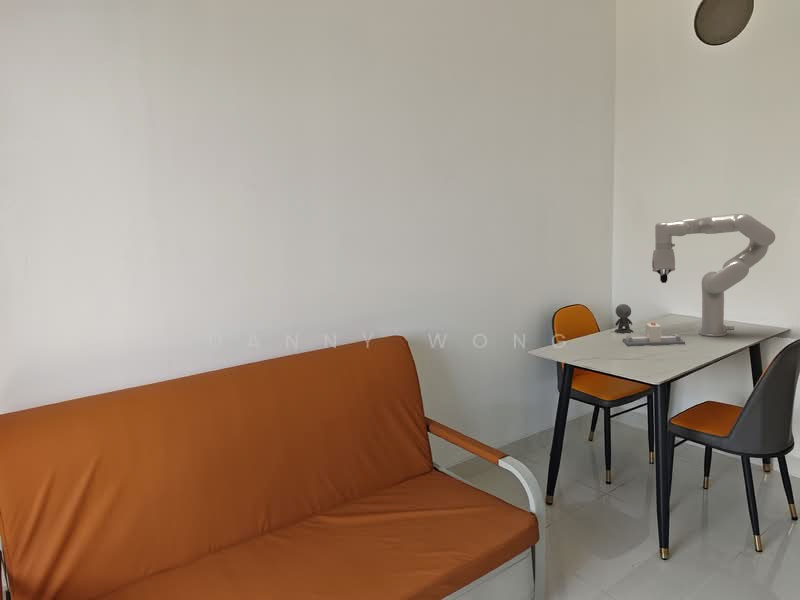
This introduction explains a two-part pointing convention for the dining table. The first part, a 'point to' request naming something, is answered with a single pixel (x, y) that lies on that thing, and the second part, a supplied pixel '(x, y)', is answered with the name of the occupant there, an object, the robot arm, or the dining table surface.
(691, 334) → the dining table surface
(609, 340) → the dining table surface
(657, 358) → the dining table surface
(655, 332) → the block
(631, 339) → the rail plate
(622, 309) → the figurine
